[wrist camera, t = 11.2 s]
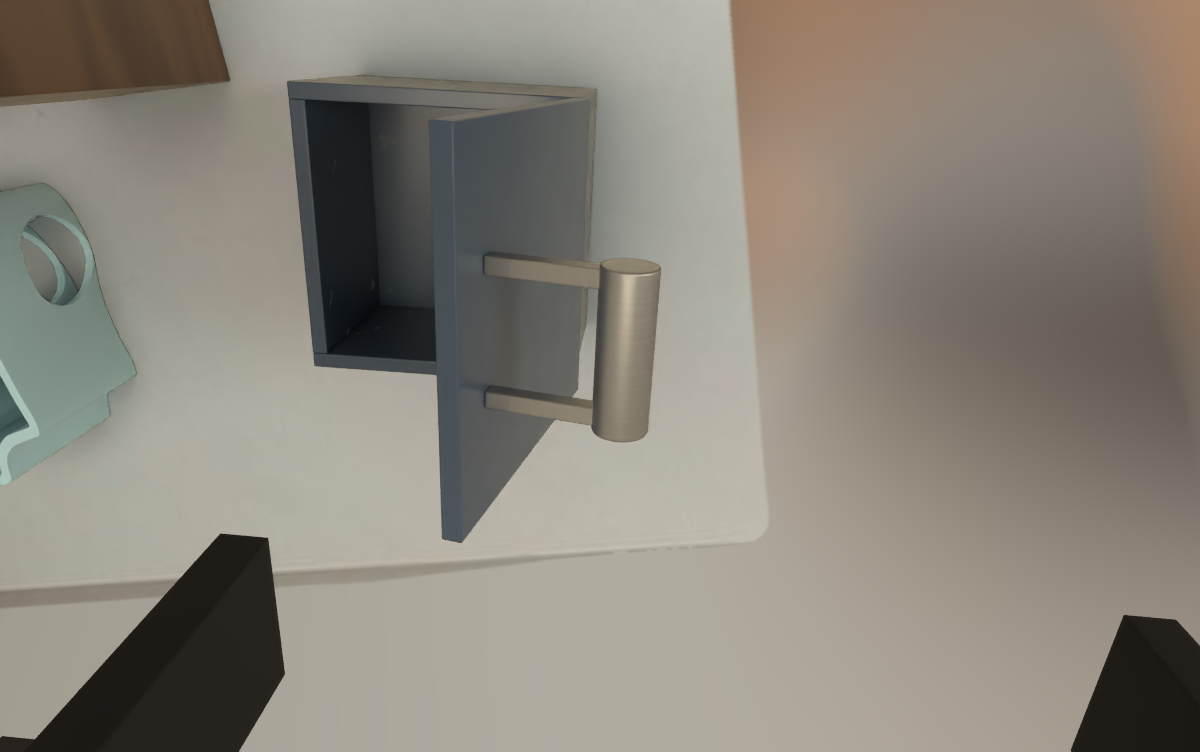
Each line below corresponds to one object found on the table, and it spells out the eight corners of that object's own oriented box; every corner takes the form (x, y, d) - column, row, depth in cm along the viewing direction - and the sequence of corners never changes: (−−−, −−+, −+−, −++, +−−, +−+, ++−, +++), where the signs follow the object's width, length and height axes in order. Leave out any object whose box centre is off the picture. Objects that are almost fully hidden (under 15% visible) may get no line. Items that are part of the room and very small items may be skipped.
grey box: (373, 311, 52) (313, 366, 43) (358, 75, 46) (286, 80, 37) (586, 326, 51) (571, 385, 42) (597, 88, 46) (583, 97, 37)
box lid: (441, 539, 29) (623, 577, 27) (427, 119, 23) (655, 137, 22) (563, 387, 42) (690, 406, 40) (574, 97, 36) (720, 107, 35)
